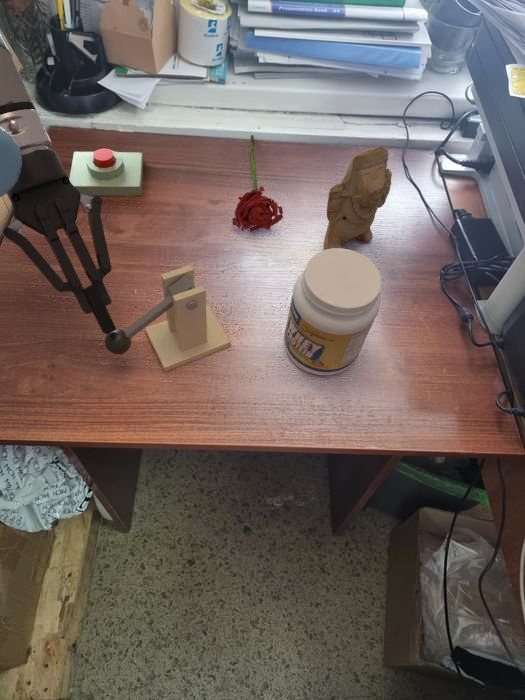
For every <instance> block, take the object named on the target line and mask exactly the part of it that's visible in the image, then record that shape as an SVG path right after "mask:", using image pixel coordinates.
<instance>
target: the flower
mask: <svg viewBox="0 0 525 700" xmlns="http://www.w3.org/2000/svg"><path fill="white" fill-rule="evenodd" d="M250 139H251V142H250V143H251V144H250V157H251V165H252V166H251V169H252V177H253V189H252V190H250V191H247V192H245V193H244V194H243V195H242V196H238V200H239V202H238V203H237V204H236V208H235V210H234V217H233V218H231V219H232V226H236V227H237V229H240V228H241V231H244V230H246V229H248V230H249V232H250V233H253V232H255V231H257V230H260V229H265V230H266V231H267V230H269V231H271V228H272V227H273V226H274V225H276V224H278V223H279V222H281V221H282V220H283V218H284V215H283V214H284V210H283V207H282V205H280V206H279V204H278V202H276V201H275V200H274V199H273V198H272V197H268V196H265V195H263V192H265V191H266V190H265V187H264V186H263V185H260V186H259V188H258V179H257V168H256V158H255V154H254V144H255V143H254V142H255V140H254V139H255V138H254V135H253V134H251V135H250Z"/></svg>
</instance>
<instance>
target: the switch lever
mask: <svg viewBox="0 0 525 700" xmlns="http://www.w3.org/2000/svg"><path fill="white" fill-rule="evenodd" d="M194 288H197V286H195V283H194V284H193V282H191V281H190V280H189V279H188V278H186V277H185V276H183V277H182V278H181V279H180V280H178V281H177V282H176V283H174V284H173V285H172V286H171V287H169V290H170V292H171V293H172V294H171V295H169V296H168V297H167V298H165V299H164V298H163V299H162V301H159V303H157V305H155V306H154V307H152V308H151V309H150V310H148V311H147V312H146V313H145V314H144V315H142V316H141V317H140V318H138V319H137V320H136V321H135V322H133V323H132V324H131V325H129V326H128V327H126V328H125V329H121V328H116V329H117V330H115V331H112V332H110V333H108V334H106V336H105V338H104V346H105V348H106V350H107V351H108V352H110V354H113V355H123V354H125V353H126V352H128V351H129V350H130V348H131V347H132V338H133V337H135V336H136V335H138V334H139V333H140V332H141V331H143V330H145V328H146V327H149V326H150V324H152V323H153V322H155V321H156V320H157V319H158V318H160V317H161V316H162V315H163V314H165V313H166V311H167V310H168V309H170V308H171V307H172V306H174V305H173V296H174V295H176V294H179V293H182V292H185V291H188V290H191V289H194Z"/></svg>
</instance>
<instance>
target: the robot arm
mask: <svg viewBox="0 0 525 700" xmlns="http://www.w3.org/2000/svg"><path fill="white" fill-rule="evenodd" d="M13 58H14V57H13V53H12V52H11V50H10V49H9V47H8V46H7V44H6V42H5V40H4V38H3V36H2V34H1V33H0V198H2V197H4V196H5V195H7V197H8V199H9V201H10V203H11V208H12V210H11V214H12V217H13V218H12V220H11V221H10V223H9V224H8V226H7V227H6V228H4V229H3V231H2V236H3V237H4V238H5V239H7V240H8V241H10V242H11V243H13V244H14V245H16V246H17V247H19V248H20V250H21V251H22V252H23V253H24V254H25V256H26V257H27V258H28V259H29V260H30V262H32V264H33V265H34V266H35V267H36V268H37V270H39V272H40V273H41V274H42V275H43V277H44V278H45V279H46V280H47V281H48V282H49V284H50V285H51V286H52V287H53V288H54V289H55V290H56V291H57V292H59V293H68V292H71V293H72V294H73V295H74V297H75V299H76V300H77V302H78V304H79V307H80V309H81V310H82V311H83V313H85V314H86V315H89V314H91V313H92V314H93V316H94V318H95V319H96V322H97V324H98V326H99V327H100V330H101V332H102V333H103V334H105V335H107V334H108V333H110V332H112V331H115V330H117V329H118V328H117V327H116V325H115V323H114V321H113V319H112V316H111V314H110V313H109V310H108V309H107V307H106V306H109V305H112V299H111V296H110V294H109V292H108V290H107V288H106V286H105V284H104V278H105V277H106V276H107V275H108V274H109V273H111V272H112V264H111V263H112V262H111V258H110V254H109V250H108V244H107V240H106V235H105V232H104V226H103V220H102V217H101V213H102V212H101V211H102V205H103V199H102V196H87V195H83V194H80V192H79V190H78V189H77V188H76V187H75V186H74V185H73V184H72V183H71V182H70V180H69V178H70V177H69V176H68V174H67V172H66V170H65V167H64V165H63V164H62V161H61V158H60V157H59V155H58V152H57V151H55V150H54V149H52V148H51V146H52V143H53V142H52V140H51V138H50V135H49V134H48V132H47V130H46V128H45V126H44V123H43V121H42V119H41V117H40V115H39V113H38V111H37V109H36V107H35V105H34V102H33V100H32V98H31V96H30V94H29V91H28V89H27V87H26V85H25V83H24V81H23V78H22V76H21V74H20V72H19V69H18V68H17V65H16V64H15V61H14V59H13ZM80 204H81V206H82V210H83V212H84V213H86V214H87V219H88V225H89V229H90V234H91V238H92V241H93V242H92V243H93V247H94V253H95V257H96V261H97V266H98V267H97V266H96V264H95V262H94V259H93V257H92V256H91V253H90V252H89V250H88V247H87V245H86V243H85V241H84V239H83V237H82V235H81V232H80V230H79V227H78V224H77V223H76V222H77V219H78V214H79V208H80ZM22 225H24V226H26V227H27V228H29V229H30V230H33V231H34V232H35V233H38V234H40V235H43V236H44V238H45V240H46V242H47V243H48V245H49V247H50V249H51V251H52V253H53V255H54V257H55V260H56V261H57V264H58V266H59V268H60V270H61V271H62V274H63V275H64V277H65V280H66V281H64V280H63V279H62V278H61V277H60V276H59V275H58V273H57V272H56V271H55V270H54V269H53V268H52V267H51V265H50V264H49V262H48V261H46V260H45V258H44V257H43V255H41V253H40V252H39V251H38V249H37V248H35V246H34V245H33V244H32V243H31V242H30V240H29V239H27V238H26V237H25V236H26V230H25V229H24V228H23V226H22ZM59 230H63V231H64V233H65V235H66V237H67V238H68V240H69V242H70V244H71V246H72V249H73V250H74V252H75V255H76V256H77V258H78V260H79V262H80V264H81V266H82V269H83V270H84V272H85V275H86V276H87V279H88V281H89V282H90V283H91V284H89V285H87V286H85V287H83V284H82V281H81V280H80V278H79V275H78V274H77V271H76V269H75V267H74V266H73V263H72V261H71V259H70V257H69V255H68V253H67V251H66V249H65V246H64V245H63V243H62V241H61V239H60V236H59V234H58V231H59Z"/></svg>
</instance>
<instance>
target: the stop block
mask: <svg viewBox="0 0 525 700" xmlns="http://www.w3.org/2000/svg"><path fill="white" fill-rule="evenodd" d="M110 150H111V151H112V152H113V155H114V160H115V163H114V165H113V166H111V167H108V168H99V167H97V166H96V164H95V161H94V157H93V154H94V152H95V151H73V156H72V161H71V168H70V171H69V172H70V173H69V177H68V178H69V180H70V182H71V183H72V184H73V185H74V186H75V187H76V188H77V189H78V190H79V192H80V194H83V195H87V196H91V197H94V196H99V197H102V196H107V197H108V196H109V197H110V196H113V197H114V196H115V197H121V196H122V197H123V196H124V197H125V196H128V197H129V196H130V197H131V196H134V197H135V196H138V197H141V196H142V194H143V179H144V178H143V177H144V156H143V155H144V154H143V152H142V151H141V152H140V151H139V152H137V151H136V152H133V151H131V152H129V151H126V152H125V151H121V152H120V151H114V150H112V149H110Z"/></svg>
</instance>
